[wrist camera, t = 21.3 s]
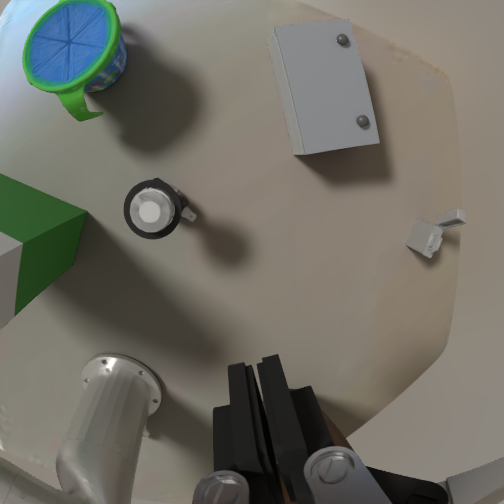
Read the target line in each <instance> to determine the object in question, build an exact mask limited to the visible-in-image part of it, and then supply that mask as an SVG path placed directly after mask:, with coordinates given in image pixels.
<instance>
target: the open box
mask: <svg viewBox="0 0 504 504" xmlns="http://www.w3.org/2000/svg"><path fill="white" fill-rule="evenodd" d="M267 46H268V50H269V53H270V57H271V61H272V65H273V69H274V73H275V77H276V81H277V85H278V89H279V93H280V98H281V102H282V106H283V110H284V115H285V119H286V124H287V128H288V133H289V137H290V142H291V146H292V151H293V155H304V150H303V145H302V141H301V136H300V131H299V127H298V122H297V118H296V113H295V109H294V105H293V101H292V96H291V92H290V88H289V84H288V80H287V76H286V72H285V68H284V64H283V60H282V56H281V53H280V49H279V45H278V41H277V38H276V34H275V30H273V32H272V34H271V36H270V39H269V41H268V43H267Z"/></svg>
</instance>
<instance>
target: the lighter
mask: <svg viewBox="0 0 504 504" xmlns="http://www.w3.org/2000/svg"><path fill="white" fill-rule="evenodd" d="M463 224H466V213H465V212H464V211H463V210H461V209H460V208H456V209H454V210H451V211H448V212H445V213H441V214H438V215H437V219H436V225H434V224H432V223H429V222H427V221H424V220H421V219H419V218H418V219H417V220H416V222H415V224H414V227H413V229H412V231H411V234H410V236H409V238H408V241H407V243H406V246H408V247H410V248H412V249H414V250H415V251H417V252H419V253H421V254H423V255H425V256H427V257H429V258H431V257H432V255H433V253H434V252H435V251H438V249H439V246H440V244H441V242H442V240H443V238H441V235H442V232H443V229H444V230H445V229H448V228H452V227H456V226H459V225H463Z"/></svg>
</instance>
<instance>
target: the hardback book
mask: <svg viewBox="0 0 504 504" xmlns="http://www.w3.org/2000/svg"><path fill="white" fill-rule="evenodd" d="M86 214H87V211H86V210H83V209H81V208H78V207H76V206H74V205H71V204H69V203H67V202H64V201H62V200H60V199H57V198H55V197H53V196H50V195H48V194H46V193H44V192H41V191H39V190H37V189H34V188H32V187H30V186H27V185H25V184H23V183H21V182H18V181H16V180H14V179H12V178H9V177H7V176H5V175H3V174H0V330H1V329H2V328H3V327H4V326H5V325H6V324H7V323H8V322H9V321H10V320H11V319H12V318H14V317H15V316H16V315H17V314H18V313H19V312H20V311H21V310H22V309H23V308H24V307H25V306H26V305H27V304H29V303H30V302H31V301H32V300H33V299H34V298H35V297H36V296H37V295H39V294H40V293H41V292H42V291H43V290H44V289H45V288H46V287H48V286H49V285H50V284H51V283H52V282H53V281H54V280H56V279H57V278H58V277H59V276H60V275H61V274H63V273H64V272H65V271H66V270H67V269H69V268H70V267H71V266H72V265H73V263H74V259H75V255H76V251H77V247H78V243H79V239H80V235H81V232H82V228H83V225H84V221H85V218H86Z"/></svg>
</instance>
